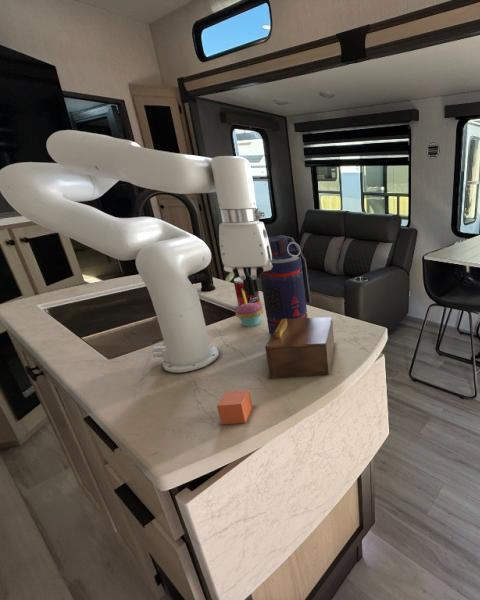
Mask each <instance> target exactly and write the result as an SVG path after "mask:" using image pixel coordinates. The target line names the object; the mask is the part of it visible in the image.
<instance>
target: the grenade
mask: <svg viewBox="0 0 480 600" xmlns="http://www.w3.org/2000/svg"><path fill="white" fill-rule="evenodd" d="M268 240H269V244H270V249H271V254H272V260H271V263H272V265H273V268H272V269H271V270H269V271H265V272H262V273H261V274H260V276H259V280H260V285H261V291H262V296H263V297H262V298H263V304H264V310H265V315H266V320H267V321H266V322H267V329H268V333H269V335H271V336H272V334H273V332H274V331H275V329H276V327H277V326H278V324H279V322H280V321H281V319H297V318H308V313H307V312H308V309H307V303H308V304H312V296H311V289H310V280H309V274H308V273H309V272H308V265H307V260H306V258H305V256H304V255H303V252H302V251H301V246H300V245H299V244H298V243H297V242H296V241H295V239H294V237H291V236H287V235H277V236H275V235H274V236H269V237H268ZM292 252H293V253H292Z"/></svg>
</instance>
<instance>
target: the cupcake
mask: <svg viewBox="0 0 480 600" xmlns="http://www.w3.org/2000/svg"><path fill="white" fill-rule="evenodd" d="M242 294H243V298H244V301H245V303H244V304H242V305H240V306H237V308H236V309H235V317H237V318H238V319H239V320H240V322H241V323H242V325H243V326H244V327H253V326H257V325H258V324H259V322H260V317H261V314H263V313H264V308H263V306H262V305H261V304H260V305H259V304H257V303H247V301H246V297H245V293H244V291H243V289H242Z"/></svg>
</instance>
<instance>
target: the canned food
mask: <svg viewBox="0 0 480 600" xmlns="http://www.w3.org/2000/svg"><path fill="white" fill-rule="evenodd" d="M250 277H251V275H250ZM233 285H234V291H235V295H236V300H237V305H238V306H237V307H239V306H240V305H242V304H244V303H245V301H244V298H243V294H242V289H243V291H244V293H245V297H246V301H247V303H257V304H259V305H261V299H260V291H259V292H258V293H257V294H256V295H255V296H253V295H251V296H247V292H245V289H244V284H243V280H241V279H240V277H239V276H238V277H235V278H234V279H233Z"/></svg>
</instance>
